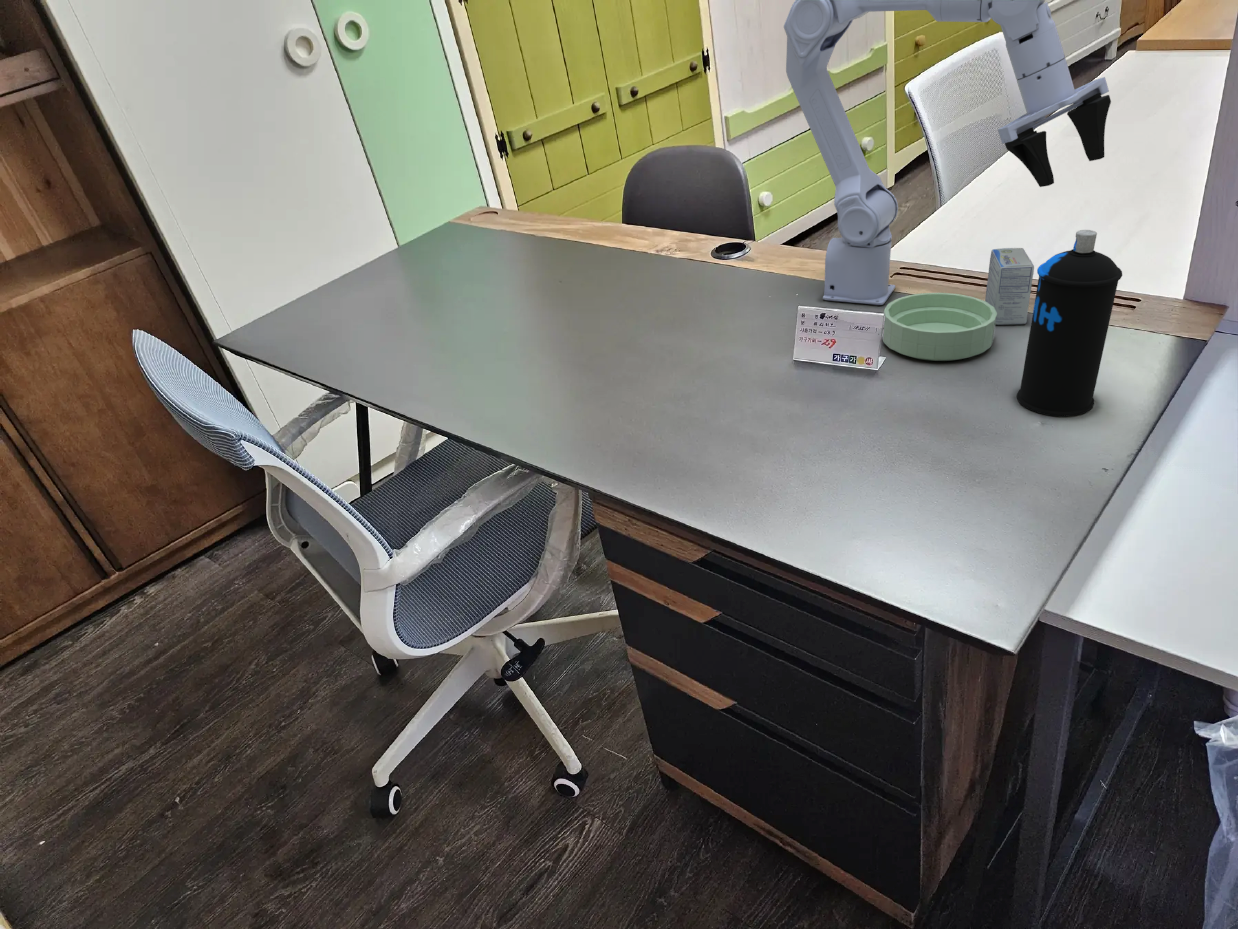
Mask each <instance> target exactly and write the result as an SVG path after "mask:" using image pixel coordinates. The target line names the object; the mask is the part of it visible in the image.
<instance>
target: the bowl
mask: <svg viewBox="0 0 1238 929" xmlns="http://www.w3.org/2000/svg"><path fill="white" fill-rule="evenodd" d="M884 316H885V321H884V334H883V337H882V342H883V344H885V345H886V347H888V348H889V350H893V351H895V352H896V353H899V354H901V355H903V356H907V357H909V358H913V359H917V360H923V361H934V362H947V361H948V362H949V361H958V360H962V359H963V360H964V359H967V358H968V359H969V358H971V357H975V356H977V355H980V354H983V353H985V352H986V351H988V350H989V349H990V348H991V347H992V345H993V343H994V340H995V333H996V326H997V325H996V319H997V312H996V310H995V308H994V307H993V306H992V305H990V304H989V303H987V302H986V301H985V300H983V299H980V298H977V297H975V296H970V295H965V294H960V293H952V292H921V293H915V294H909V295H905V296H902V297H899V298H896V299H894V300H892V301H890V302H889V303H888V304H887V305H886V306H885V308H884V309H883V317H884Z"/></svg>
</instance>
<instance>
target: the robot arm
mask: <svg viewBox="0 0 1238 929" xmlns="http://www.w3.org/2000/svg"><path fill="white" fill-rule="evenodd" d="M902 11H903V12H905V11H907V12H908V11H927V12H928V13H929V14H930V16H931V17H932V18H933V19H934V21H936V22H940V23H941V22H944V23H945V22H946V23H948V22H950V23H952V22H953V23H954V22H955V23H956V22H957V23H959V22H960V23H988V22H989V21H990V20H992V21H993V22H994V23H996V24H998V25H999V26H1000V28H1001V32H1002V35H1003V38H1004V41H1005V48H1006V50H1007V54H1008V57H1009V61H1010V64H1011V67H1012V70H1013V74H1014V76H1015V80H1016V84H1017V86H1018V90H1019V92H1020V95H1021V99H1022V102H1023V106H1024V109H1025V111H1026V112H1025V113H1024V114H1023V115H1020V116H1019V117H1017V118H1016V119H1013V121H1011V122H1009V123H1007V124H1005V125H1003V126H1001V127H999V128H998V129H997V133H998V135H999V138H1000V142H1001V144H1003V145H1004V146H1005V148H1006V150H1007V151H1008V152H1010V153H1012V154H1013V155H1014V156H1015V158H1017V159H1018V160H1019V161H1020V162H1021V163H1022V164H1023V165H1024V166H1025V168H1026V169H1027V170H1028V171H1029V172H1030V174H1031V176H1032V177H1033V179H1034V180H1035V182H1036V183H1037V185H1038V187H1039V188H1042V187H1043V188H1044V187H1049V186H1051V185H1053V184H1055V178H1054V174H1053V170H1052V165H1051V163H1050V159H1049V154H1048V147H1047V131H1045V130H1042V131H1037V130H1035V129H1037V128H1038V127H1041V126H1043V125H1045V124H1046V123H1048V122H1050V121H1053V120H1055V119H1056V118H1058V117H1060V116H1062V115H1064V114H1066V115H1067V116H1068V118H1069V120H1070V121H1071V123H1072V124H1073V126H1074V127H1075V130H1076V131H1077V133H1078V135H1079V138H1080V141H1081V144H1082V147H1083V151H1084V153H1085V155H1086V158H1087V160H1088V162H1093V161H1099V160H1102V159H1104V158H1105V132H1106V124H1107V117H1108V113H1109V109H1110V106H1111V103H1112V100H1111V96H1110V94H1107V93H1109V91H1110V90H1109V87H1108V83H1107V79H1106V76H1103V77H1100V78H1097V79H1094V80H1092V81H1090V82H1088V83H1085V84H1084V85H1082V86H1079V87H1077V88H1075V86H1074V83H1073V80H1072V76H1071V73H1070V69H1069V66H1068V62H1067V59H1066V56H1065V52H1064V48H1063V45H1062V42H1061V38H1060V35H1059V32H1058V28H1057V24H1056V22H1055V20H1054V19H1053V16H1052V11H1051V8H1050V6H1049V3H1048V1H1046V0H794V2H793V3H792V5H791V7H790V10H789V12H788V14H787V16H786V19H785V22H784V24H783V29H784V32H785V35H786V56H785V58H786V60H785V72H786V76H787V79H788V82H789V83H790V86H791V88H792V90H793V93H794V95H795V98H796V99H797V102H798V104H799V106H800V108H801V109H800V110H801V111H802V113H803V116H804V118H805V120H806V122H807V124H808V127H809V129H810V132H811V134H812V136H813V139H814V141H815V143H816V145H817V147H818V151H819V153H820V154H821V157H822V159H823V161H824V164H825V165H826V168H827V170H828V172H829V175H830V177H831V179H832V181H833V182H832V183H833V185H834V187H835V190H834V199H833V205H834V207H835V210H836V213H837V230H838V232H839V234H840V236H841V237H832V238H831V239H830V240H829V242H828V245H827V247H826V252H825V259H824V261H825V262H824V290H823V293H824V294H823V296H822V300H824V301H830V302H831V301H832V302H843V303H853V304H862V305H863V304H864V305H874V306H883V305H885V304H886V302H887V301H888V299H889V298H890V296H891V295H892V293H893V292H894V291H895V289H896V285H895V284H890V283H889V282H890V281H889V280H890V266H891V253H892V240H893V239H892V237H893V236H892V235H893V234H892V232H891V230H890V225H891V224H893V223H894V221H895V220H896V218H897V216H898V213H899V204H898V200H897V197H896V196H895V195H894V193H893V192H892V191H890V190H889V189H888V188H887V187H886V186H885V185H884V183H883V181H882V179H881V177H880V175H878V174H877V173H875V172H874V171H873V170H872V169H871V168H870V167H869V164H868V162H867V160H866V157H865V155H864V153H863V150H862V148H861V146H860V143H859V141H858V139H857V137H856V134H855V131H854V129H853V126H852V125H851V121H850V120H849V118H848V115H847V112H846V111H845V108H844V106H843V104H842V101H841V98H840V97H839V96H840V95H839V93H838V92H837V89H836V87H835V85H834V83H833V80H832V78H831V75H830V72H829V70H828V65H829V62H830V59H831V58H832V54H833V52H834V50H835V47H836V45H837V43H838V42H839V41H840V39H841V38H842V37H843V36H844V35H845V33H846V32H847V31H848V29H849V28H850V26H851V25H852V23H853V21H854V20H857V19H861V18H862V17H864V16H865V15H866V14H868V13H871V12H872V13H873V12H875V13H876V12H902ZM1105 94H1106V95H1105ZM1056 111H1057V112H1056Z"/></svg>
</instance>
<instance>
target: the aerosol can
mask: <svg viewBox="0 0 1238 929" xmlns="http://www.w3.org/2000/svg"><path fill="white" fill-rule="evenodd" d="M1097 235H1098V233H1097V232H1096V231H1095V230H1092V229H1081V230H1077V231H1076V232H1075V241H1074V244H1073V248H1072V249H1070V250H1066V251H1065V250H1064V251H1061V252H1059V253H1056V254H1054V255H1052V256H1051V257H1050V258H1048V259H1046V261H1045V262H1043V263H1042V264H1040V265H1039V266H1038V267H1037V270H1036V272H1037V275H1038V280H1037V287H1036V292H1035V299H1034V304H1033V310H1032V314H1031V316H1032V317H1031V322H1030V328H1029V333H1028V334H1029V335H1028V341H1027V345H1026V346H1027V347H1026V351H1025V352H1026V353H1025V358H1024V363H1023V369H1022V370H1023V371H1022V375H1021V376H1022V377H1021V382H1020V388H1019V389H1018V391H1017V393H1016V399H1017V401H1018V402H1019V404H1020V405H1022V407H1024V408H1025V409H1028V410H1030V411H1032V412H1035V413H1038V414H1041V415H1046V416H1052V417H1075V416H1079V415H1082V414H1085V413H1087V412H1089V411H1091V410H1092V409H1093V408H1094V406H1095V398H1094V394H1095V391H1096V387H1097V386H1096V385H1097V382H1098V376H1099V373H1100V372H1099V371H1100V366H1101V362H1102V357H1103V353H1104V348H1105V344H1106V339H1107V335H1108V331H1109V325H1110V322H1111V321H1110V320H1111V316H1112V312H1113V307H1114V302H1115V299H1116V294H1117V288H1118V283H1119V280H1121V279H1122V277H1123V271H1122V269H1121V267H1119V266H1118V265H1117V264H1116V263H1115V262H1114V261H1113V259H1112V258H1110V256H1107V255H1106V254H1103V253H1101V252H1099V251H1096V250H1095V244H1096V239H1097Z"/></svg>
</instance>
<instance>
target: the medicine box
mask: <svg viewBox="0 0 1238 929" xmlns="http://www.w3.org/2000/svg"><path fill="white" fill-rule="evenodd" d="M1034 270H1035V265H1034V264H1033V261H1032V260H1031V258H1030V257H1029V255H1028V254H1027V252H1026V250H1025V249H1024V248H1023V247H1002V248H994V249H992V250H991V252H990V257H989V265H988V273H987V282H986V289H985V298H984V301H986V302H987V303H989V304H990V305H992V306H993V307H994V308H995V310H996V312H997V319H996V326H1012V325H1013V326H1014V325H1025V324H1027V320H1028V313H1029V306H1030V300H1031V299H1030V298H1031V293H1032V287H1033V286H1032V285H1033V278H1034Z"/></svg>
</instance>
